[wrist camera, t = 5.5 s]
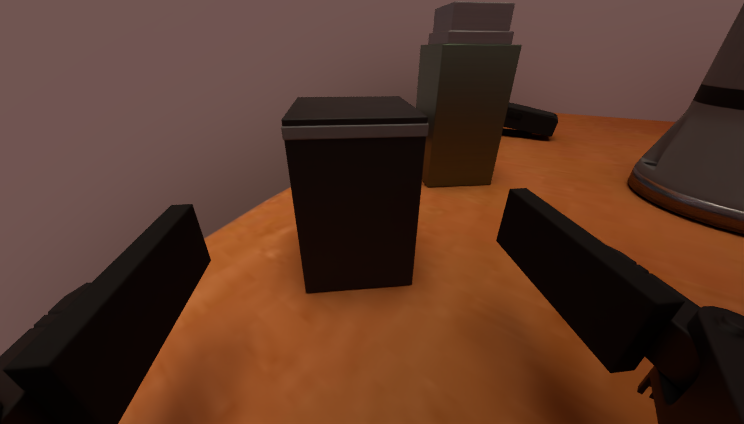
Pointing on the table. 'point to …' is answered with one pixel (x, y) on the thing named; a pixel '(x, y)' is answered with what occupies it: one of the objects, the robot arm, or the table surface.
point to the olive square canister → (466, 91)
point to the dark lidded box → (355, 188)
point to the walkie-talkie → (528, 121)
